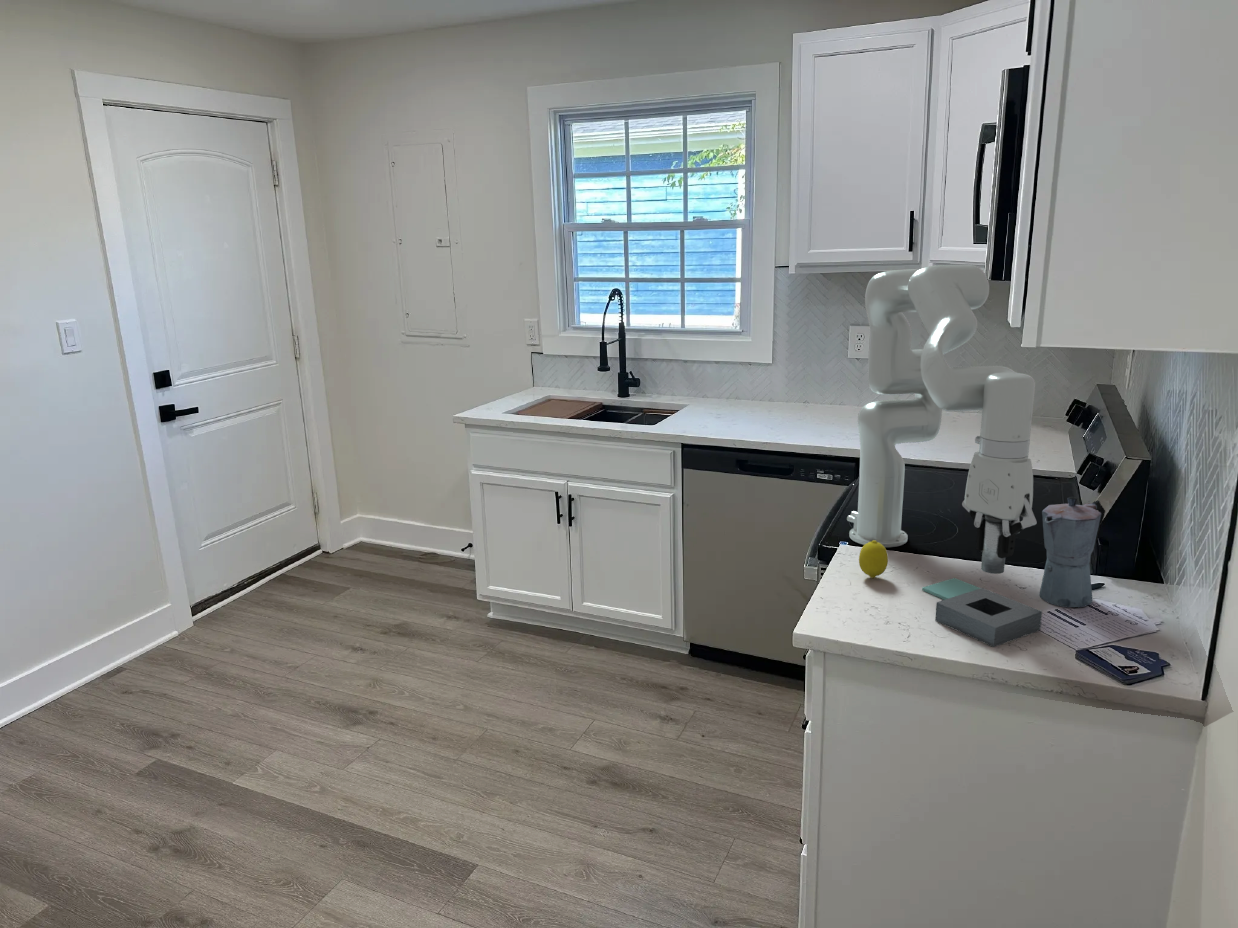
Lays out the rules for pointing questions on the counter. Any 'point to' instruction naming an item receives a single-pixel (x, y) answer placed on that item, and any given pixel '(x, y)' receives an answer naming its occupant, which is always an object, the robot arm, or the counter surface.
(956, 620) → the socket block
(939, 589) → the pad
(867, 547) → the lemon
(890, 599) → the counter surface
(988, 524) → the clear capped vial
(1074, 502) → the moka pot
